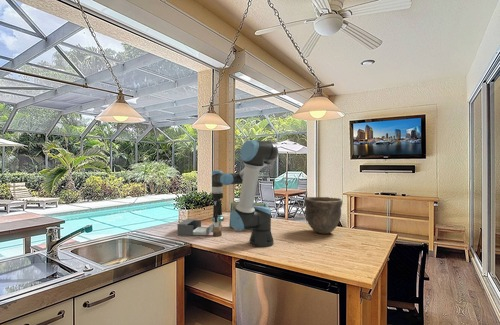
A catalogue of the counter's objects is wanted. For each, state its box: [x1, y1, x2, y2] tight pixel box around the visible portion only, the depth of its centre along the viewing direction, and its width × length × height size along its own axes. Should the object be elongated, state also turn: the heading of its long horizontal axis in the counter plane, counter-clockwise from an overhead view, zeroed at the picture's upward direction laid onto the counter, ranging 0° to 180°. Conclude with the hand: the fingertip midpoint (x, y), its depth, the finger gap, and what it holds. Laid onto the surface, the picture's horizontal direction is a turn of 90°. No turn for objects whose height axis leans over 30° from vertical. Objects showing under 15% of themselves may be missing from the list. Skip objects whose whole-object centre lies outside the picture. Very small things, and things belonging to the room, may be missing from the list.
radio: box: [228, 199, 269, 231], centre depth 210 cm, size 30×8×25 cm, turn 73°
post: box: [212, 224, 223, 238], centre depth 190 cm, size 6×6×7 cm
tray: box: [193, 222, 214, 236], centre depth 197 cm, size 17×12×5 cm
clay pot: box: [304, 196, 343, 235], centre depth 197 cm, size 26×26×25 cm
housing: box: [176, 218, 202, 237], centre depth 198 cm, size 19×13×8 cm
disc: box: [211, 215, 224, 223], centre depth 189 cm, size 8×8×2 cm
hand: (217, 225), depth 189 cm, fingers closed on disc, 8 cm apart
